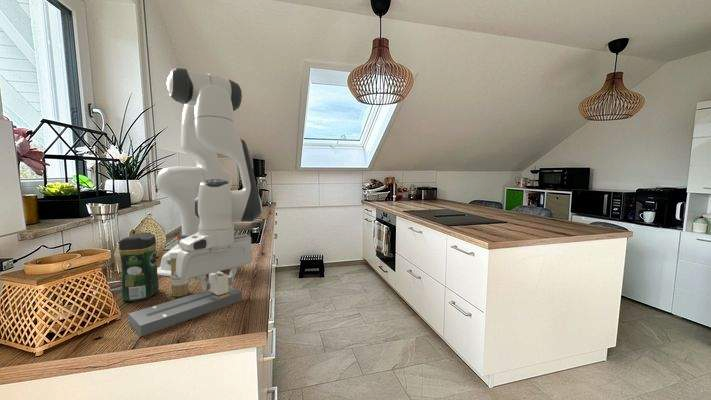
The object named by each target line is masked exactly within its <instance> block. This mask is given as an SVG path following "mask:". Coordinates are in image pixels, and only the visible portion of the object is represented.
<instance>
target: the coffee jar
mask: <svg viewBox="0 0 711 400" xmlns="http://www.w3.org/2000/svg"><path fill="white" fill-rule="evenodd" d="M118 253H119V257H120V266H121V267H120V270H121V273H120V274H121V299H122V300H123V301H126V302H139V301H141V300H145V299H149V298H151V297H153V295H155V294H156V292H157V291H159V287H160V286H159V275H158V274H157V268H158V262H157V239H156V235H155V234H153V233H151V232H136V233H134V234H132V235H129V236H126V237H124V238H122V239H121V240H119V241H118Z"/></svg>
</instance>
